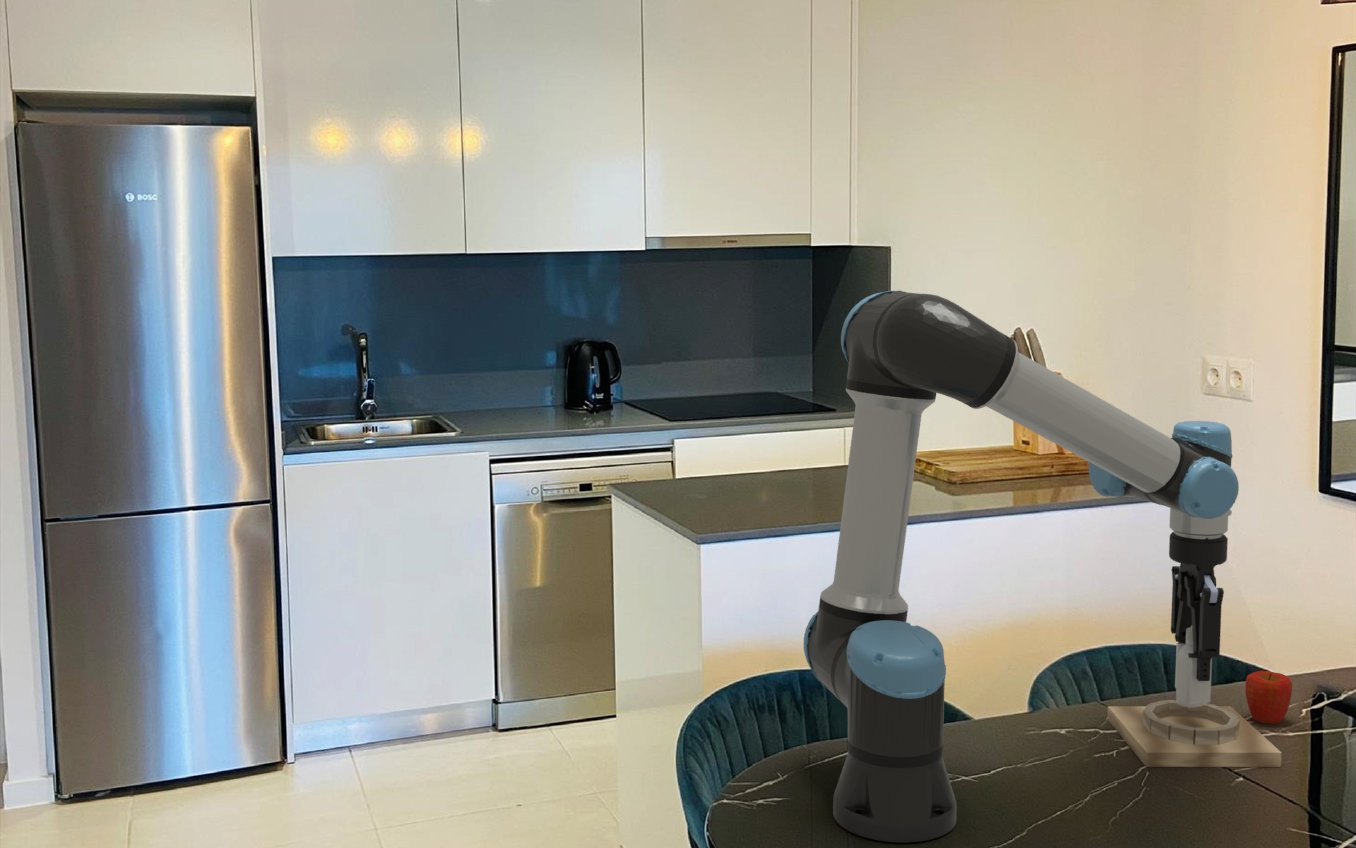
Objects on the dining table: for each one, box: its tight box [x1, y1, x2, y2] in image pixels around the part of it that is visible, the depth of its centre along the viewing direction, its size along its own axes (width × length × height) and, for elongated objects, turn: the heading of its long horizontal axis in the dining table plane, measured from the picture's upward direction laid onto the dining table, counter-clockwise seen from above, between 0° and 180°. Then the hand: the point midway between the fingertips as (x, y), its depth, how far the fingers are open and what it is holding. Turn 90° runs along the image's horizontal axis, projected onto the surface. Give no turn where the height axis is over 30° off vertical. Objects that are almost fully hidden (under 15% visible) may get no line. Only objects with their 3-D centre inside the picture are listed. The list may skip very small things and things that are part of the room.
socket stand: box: [1106, 699, 1283, 768], centre depth 187 cm, size 18×18×4 cm
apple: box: [1244, 670, 1293, 725], centre depth 194 cm, size 6×6×8 cm
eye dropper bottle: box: [1175, 626, 1208, 708], centre depth 185 cm, size 4×6×12 cm
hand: (1192, 694), depth 186 cm, fingers closed on eye dropper bottle, 5 cm apart
